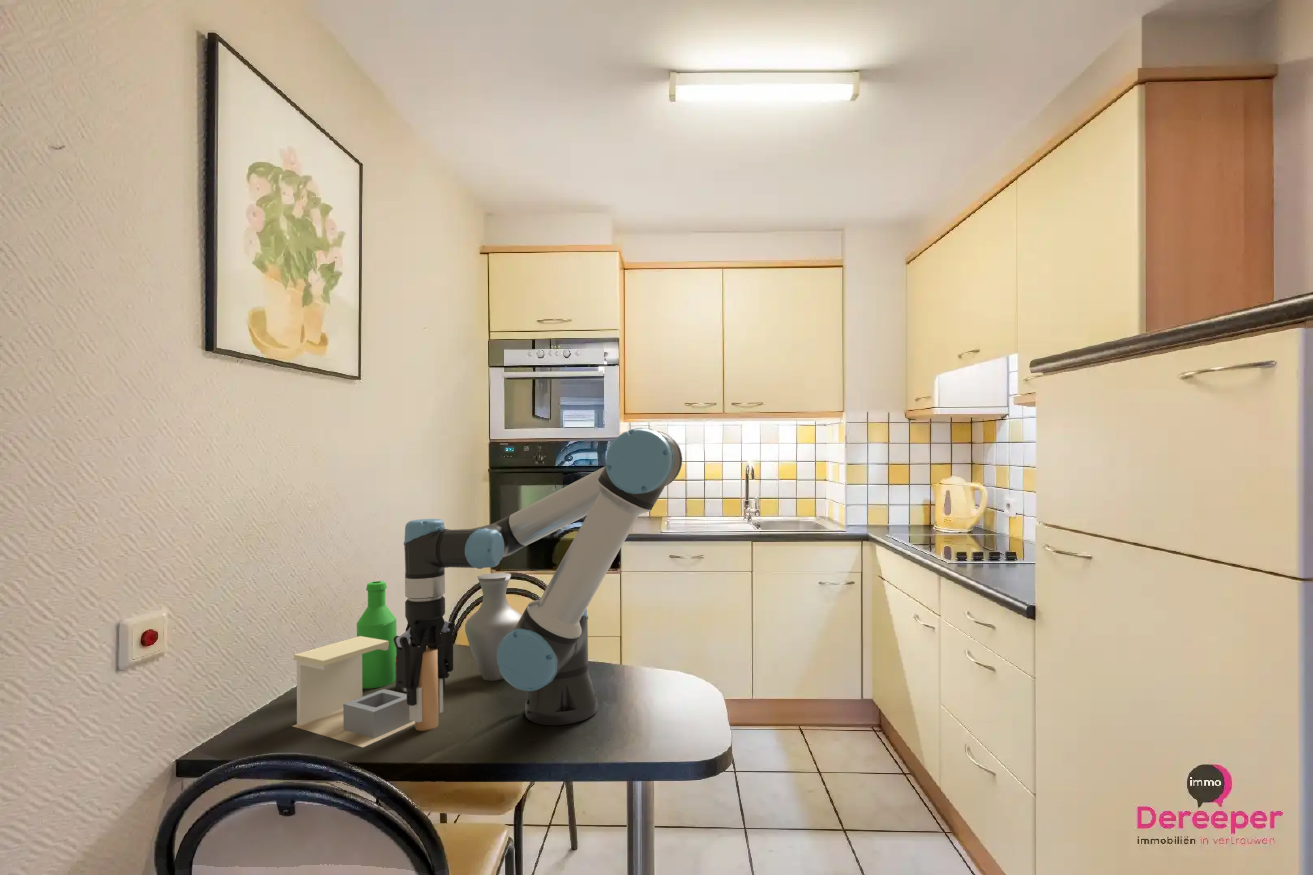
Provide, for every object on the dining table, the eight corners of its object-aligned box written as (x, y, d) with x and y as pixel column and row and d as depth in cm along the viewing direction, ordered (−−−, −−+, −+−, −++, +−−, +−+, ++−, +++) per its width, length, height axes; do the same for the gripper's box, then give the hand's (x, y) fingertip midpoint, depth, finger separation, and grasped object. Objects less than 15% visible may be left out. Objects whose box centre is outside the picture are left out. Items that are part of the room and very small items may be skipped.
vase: (485, 665, 168) (483, 569, 169) (535, 668, 164) (533, 570, 165) (453, 684, 154) (452, 579, 155) (507, 688, 150) (505, 581, 151)
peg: (443, 729, 127) (442, 648, 128) (425, 738, 123) (424, 654, 124) (427, 725, 129) (427, 646, 130) (410, 734, 125) (409, 651, 126)
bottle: (398, 678, 159) (397, 577, 160) (395, 690, 150) (394, 583, 151) (359, 683, 156) (358, 580, 157) (354, 695, 148) (353, 586, 149)
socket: (413, 720, 129) (413, 695, 129) (374, 738, 121) (373, 711, 121) (383, 713, 133) (383, 688, 134) (343, 729, 125) (343, 703, 126)
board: (432, 721, 131) (432, 715, 131) (363, 753, 117) (363, 747, 117) (362, 704, 142) (362, 698, 142) (292, 731, 128) (292, 725, 128)
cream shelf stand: (389, 706, 137) (388, 640, 137) (323, 733, 124) (323, 660, 124) (360, 699, 142) (360, 635, 142) (294, 724, 128) (293, 654, 129)
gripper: (446, 587, 137) (447, 697, 136) (374, 604, 121) (375, 729, 121) (471, 590, 133) (473, 703, 132) (401, 608, 118) (402, 736, 117)
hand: (426, 715), depth 126 cm, fingers open, 4 cm apart
